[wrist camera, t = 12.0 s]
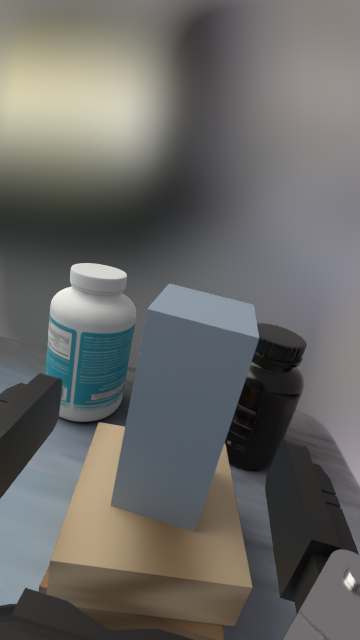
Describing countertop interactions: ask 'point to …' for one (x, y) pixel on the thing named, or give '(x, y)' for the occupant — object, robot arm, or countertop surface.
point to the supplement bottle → (266, 398)
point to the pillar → (182, 402)
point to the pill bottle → (90, 341)
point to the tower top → (149, 549)
